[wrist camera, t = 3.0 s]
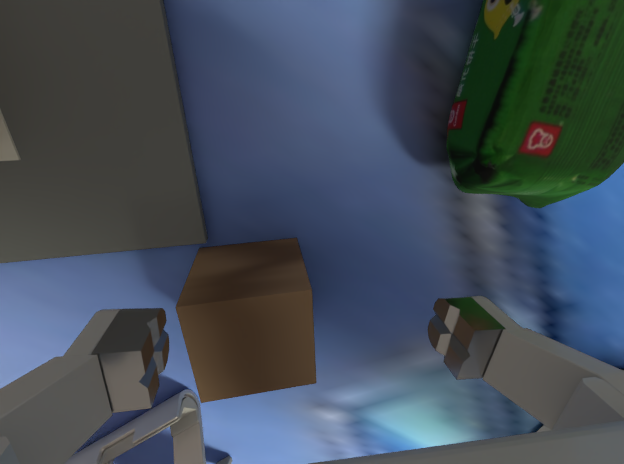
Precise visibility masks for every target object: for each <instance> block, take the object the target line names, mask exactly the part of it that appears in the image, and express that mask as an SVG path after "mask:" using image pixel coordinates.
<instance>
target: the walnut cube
mask: <svg viewBox="0 0 624 464" xmlns="http://www.w3.org/2000/svg"><path fill="white" fill-rule="evenodd" d="M176 311H177V314H178V318H179V322H180V326H181V329H182V333H183V337H184V340H185V344H186V348H187V352H188V355H189V359H190V363H191V367H192V370H193V374H194V378H195V381H196V385H197V389H198V393H199V396H200V400H201V403H203V402H209V401H215V400H221V399H227V398H232V397H238V396H244V395H250V394H256V393H261V392H267V391H273V390H279V389H285V388H291V387H296V386H302V385H308V384H314V383H316V365H315V343H314V322H313V300H312V288H311V285H310V281H309V278H308V274H307V271H306V268H305V264H304V261H303V257H302V254H301V251H300V247H299V244H298V240H297V238H290V239H280V240H270V241H261V242H251V243H241V244H232V245H222V246H213V247H203V248H199V250H198V253H197V255H196V258H195V260H194V263H193V265H192V268H191V270H190V273H189V275H188V278H187V280H186V283H185V285H184V287H183V290H182V292H181V295H180V297H179V300H178V302H177V305H176Z"/></svg>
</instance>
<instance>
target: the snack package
mask: <svg viewBox="0 0 624 464" xmlns="http://www.w3.org/2000/svg"><path fill="white" fill-rule="evenodd" d="M447 152H448V155H449V162H450V167H451V172H452V178H453V181H454V183H455V185H456V186H457V188H458V189H460V190H461V191H462V192H465V193H473V194H499V195H507V196H512V197H516V198H519V199H520V201H521V202H523V203H524V204H525V205H527V206H529V207H534V208H542V207H544V206H546V205H549V204H552V203H555V202H558V201H561V200H564V199H566V198H569V197H571V196H574V195H576V194H579V193H581V192H584V191H586V190H589V189H591V188H593V187H595V186H597V185H599V184H601V183H602V182H603V181H605V180H606V179H607V178H609V177H610V176H611V175H612V174H613V173H614V172H615V171H616V170H617V169H618V168H619V167H620V166H621V165H622V164H623V163H624V0H483V3H482V7H481V10H480V14H479V17H478V20H477V23H476V26H475V30H474V33H473V37H472V40H471V44H470V47H469V51H468V55H467V58H466V62H465V65H464V68H463V72H462V76H461V79H460V83H459V87H458V90H457V93H456V96H455V99H454V102H453V105H452V109H451V112H450V116H449V122H448V128H447Z"/></svg>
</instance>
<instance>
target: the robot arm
mask: <svg viewBox="0 0 624 464" xmlns="http://www.w3.org/2000/svg"><path fill="white" fill-rule="evenodd" d="M433 310H434V312H435V314H436V315H435V316H434V317H433V318H432V319H431V320H430V322H429V326H428V336H429V340H430V342H431V344H432V346H433V347H434V349H435V350H436V351H437V352H439V353H441V354H442V355H444V363H445V364H446V366H447V367H448V368H449V370H450V371H451V372H452V374H453V375H454V377H455V378H456V379H457V380H460V379H476V378H483V380H484V381H485V382H487V383H488V384H489V385H491V386H492V387H493V388H495V389H496V390H498V391H499V392H500V393H502V394H503V395H504V396H506V397H507V398H508V399H510V400H511V401H513V402H514V403H515V404H517V405H518V406H519V407H521V408H522V409H523V410H525V411H526V412H528V413H529V414H530V415H532V416H533V417H534V418H536V419H537V420H538V421H540V422H541V423H543V424H544V425H543V426H542V427H541V428H540V429H539V430H538V431H537V432H535V433H527V434H520V435H513V436H506V437H499V438H491V439H484V440H477V441H470V442H463V443H456V444H449V445H441V446H434V447H427V448H420V449H412V450H405V451H398V452H391V453H383V454H376V455H369V456H361V457H354V458H347V459H339V460H332V461H325V462H317V463H310V464H624V370H620V369H618V368H616V367H614V366H611V365H609V364H607V363H605V362H602V361H600V360H598V359H596V358H593V357H591V356H589V355H586V354H584V353H582V352H580V351H577V350H575V349H573V348H571V347H568V346H566V345H564V344H562V343H559V342H557V341H555V340H552V339H550V338H548V337H546V336H543V335H541V334H539V333H537V332H534V331H532V330H530V329H528V328H524V329H523V328H522V327H520V326H519V325H518V324H517V323H516V322H515V321H513V320H512V319H511V318H510V317H509V316H507V315H506V314H505V313H504V312H503V311H502V310H500V309H499V308H498V307H497V306H496V305H495V304H493V303H492V302H491V301H490V300H489V299H487V298H486V297H483V296H470V297H462V298H438V300H437V301H436V302H435V305H434V308H433ZM165 323H166V315H165V310H164V309H163V308H145V309H104V310H100V311H98V312H96V313H95V315H94V316H93V317H92V319H91V320H90V321H89V323H88V324H87V325H86V326H85V328H84V329H83V330H82V332H81V333H80V334H79V336H78V337H77V338H76V340H75V341H74V342H73V344H72V345H71V346H70V348H69V349H68V350H67V352H66V353H65V354H64V355H63V357H55V358H53V359H51V360H49V361H48V362H46V363H44V364H42V365H41V366H39V367H37V368H36V369H34V370H32V371H30V372H29V373H27V374H25V375H24V376H22V377H20V378H18V379H17V380H15V381H13V382H11V383H10V384H8V385H6V386H5V387H3V388H1V389H0V464H64V463H65V462H66V461H67V460H68V459H69V458H70V457H71V456H72V455H73V454H74V453H75V452H76V451H77V450H78V449H79V448H80V447H81V446H82V445H83V444H84V443H85V442H86V441H87V440H88V439H89V438H90V437H91V436H92V435H93V434H94V433H95V432H96V431H97V430H98V429H99V428H100V427H101V426H102V425H103V424H104V423H105V422H106V421H107V420H108V419H109V418H110V417H111V416H112V413H116V412H124V411H132V410H141V409H149V408H152V405H153V402H154V399H155V396H156V393H157V390H158V387H159V378H158V375H159V374H160V373H161V372H163V371H164V370H165V366H166V363H167V359H168V353H169V336H168V333H167V332H166V331H165V330H163V328H164V326H165Z"/></svg>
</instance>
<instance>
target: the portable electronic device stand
mask: <svg viewBox="0 0 624 464" xmlns="http://www.w3.org/2000/svg"><path fill="white" fill-rule="evenodd" d="M169 426H170V429H171V436H172V437H173V449H174V464H206V457H205V447H204V437H203V427H202V418H201V408H200V402H199V400H198V398H197V396H196V394H195V393H194V392H193V391H191V390H189V389H186V390H183V391H181V392H180V393H178V394H176V395H174V396H172V397H171V398H169V399H168V400H166V401H164V402H163V403H161V404H159V405H157V406H156V407H154V408H152V409H151V410H149V411H147V412H146V413H144V414H142V415H140V416H139V417H137V418H135V419H134V420H132V421H130V422H129V423H127V424H125V425H123V426H122V427H120V428H118V429H117V430H115V431H113V432H112V433H110V434H108V435H106V436H105V437H103V438H101V439H100V440H98V441H96V442H95V443H93V444H91V445H89V446H88V447H86V448H84V449H83V450H81V451H79V452H78V453H76V454H74V455H72V456H71V457H70V458H69V459H68V460H67V461H66V462H65V463H64V464H113V461H114V458H116V457H118V456H119V455H121V454H123V453H124V452H126V451H128V450H130V449H131V448H133V447H135V446H137V445H138V444H140V443H142V442H143V441H145V440H147V439H149V438H150V437H152V436H154V435H155V434H157V433H159V432H161V431H162V430H164V429H166V428H168V427H169ZM231 462H232V458H231V457H230V456H228V457H226V458H224V459H223V460H221V461H219V462H217V463H216V464H231Z"/></svg>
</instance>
